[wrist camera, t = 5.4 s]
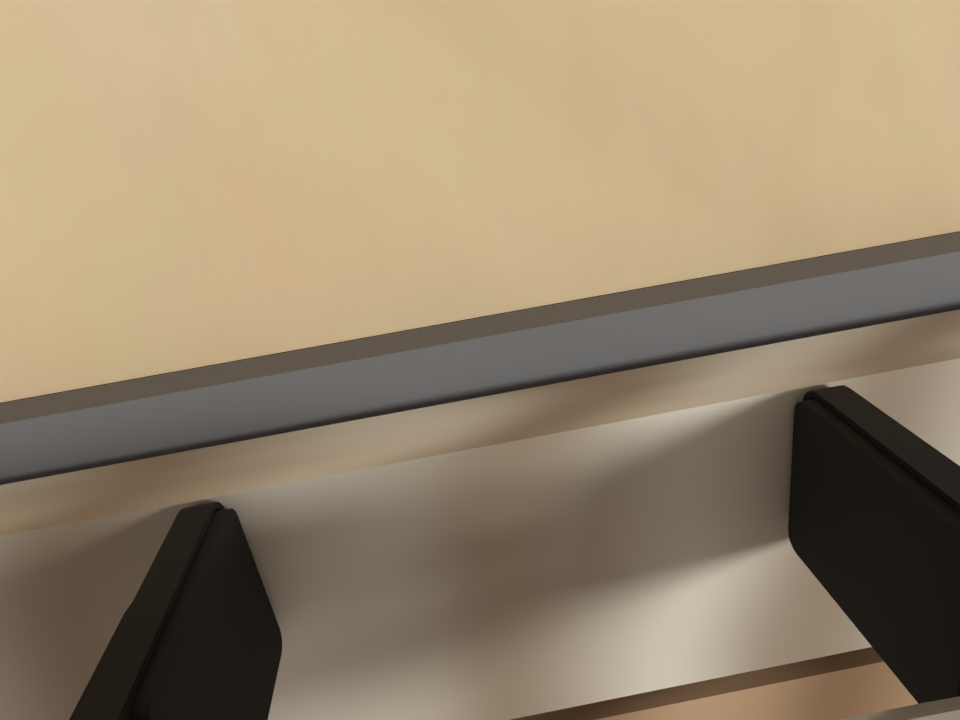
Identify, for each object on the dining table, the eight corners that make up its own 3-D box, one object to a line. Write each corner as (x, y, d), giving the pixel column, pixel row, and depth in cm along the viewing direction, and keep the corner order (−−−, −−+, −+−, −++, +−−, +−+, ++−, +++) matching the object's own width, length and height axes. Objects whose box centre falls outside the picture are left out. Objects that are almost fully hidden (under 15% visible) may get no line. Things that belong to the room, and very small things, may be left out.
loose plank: (1202, 265, 12) (1301, 294, 11) (1095, 539, 15) (1163, 588, 14) (-249, 530, 11) (-335, 599, 10) (-47, 764, 14) (-91, 840, 13)
